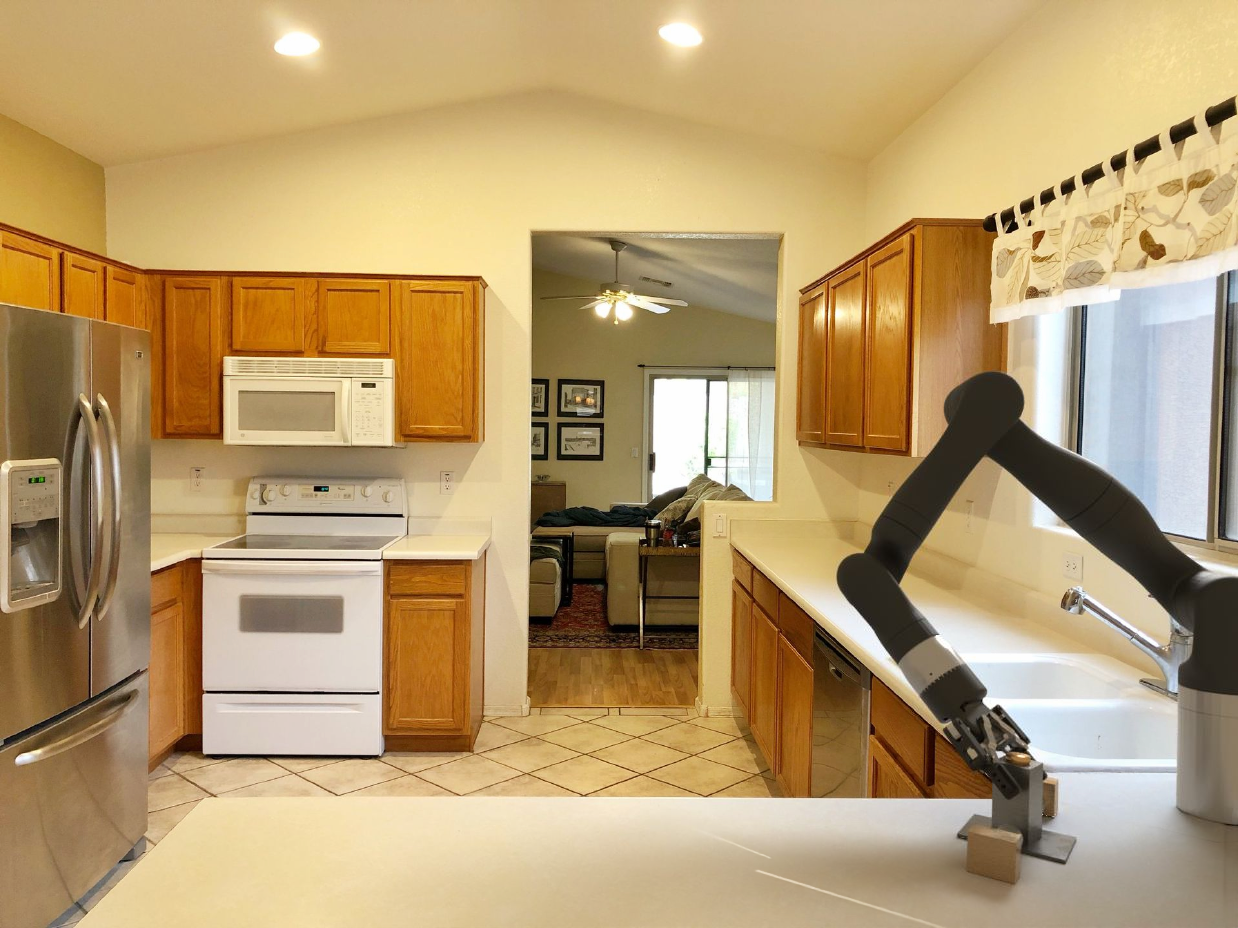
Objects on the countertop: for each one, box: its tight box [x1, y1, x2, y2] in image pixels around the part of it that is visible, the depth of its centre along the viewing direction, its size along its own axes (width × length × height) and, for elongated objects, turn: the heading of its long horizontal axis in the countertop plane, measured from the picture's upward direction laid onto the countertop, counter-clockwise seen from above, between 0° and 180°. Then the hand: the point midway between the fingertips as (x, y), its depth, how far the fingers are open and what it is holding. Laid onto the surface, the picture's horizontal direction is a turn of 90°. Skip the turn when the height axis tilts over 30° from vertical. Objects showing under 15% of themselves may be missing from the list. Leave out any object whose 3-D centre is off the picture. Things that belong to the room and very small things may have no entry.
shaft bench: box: [956, 776, 1077, 885], centre depth 107 cm, size 29×12×4 cm, turn 145°
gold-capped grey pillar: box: [991, 752, 1044, 845], centre depth 107 cm, size 4×4×10 cm
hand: (1029, 788), depth 106 cm, fingers open, 8 cm apart
